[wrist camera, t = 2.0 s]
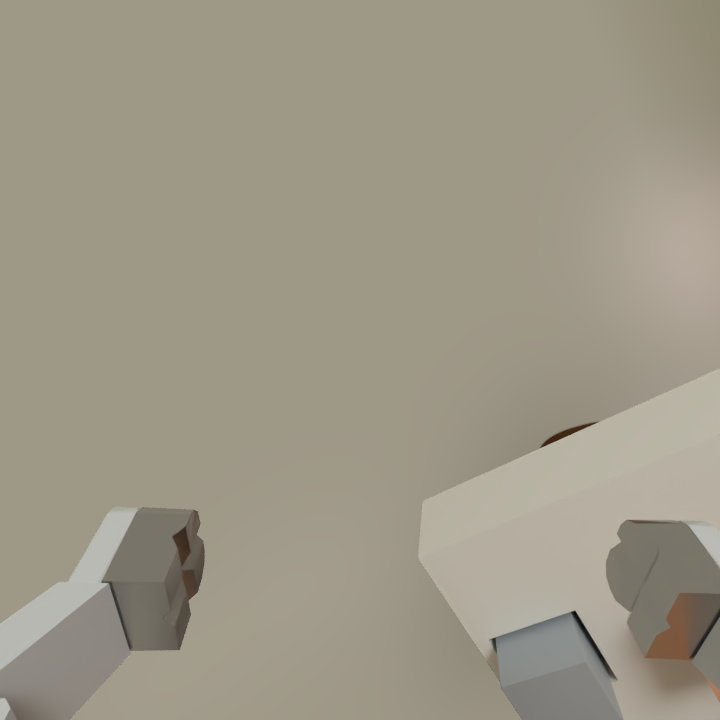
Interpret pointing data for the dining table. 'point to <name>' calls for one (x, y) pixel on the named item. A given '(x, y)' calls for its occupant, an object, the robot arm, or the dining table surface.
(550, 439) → the dining table surface
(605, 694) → the slate grey button
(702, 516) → the control panel
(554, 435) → the dining table surface
